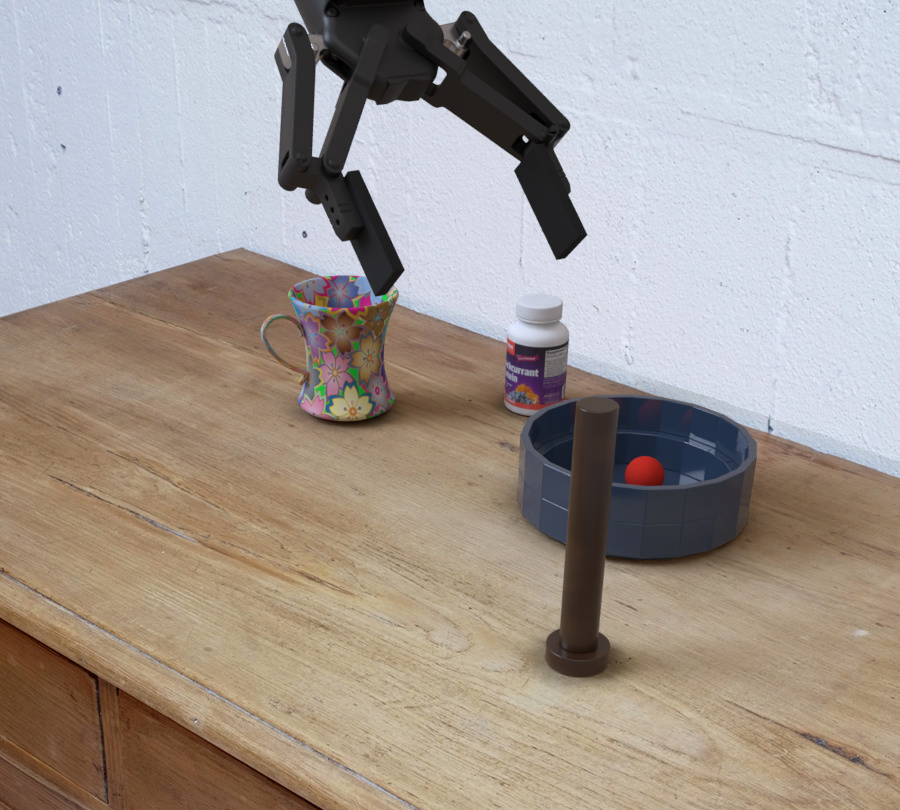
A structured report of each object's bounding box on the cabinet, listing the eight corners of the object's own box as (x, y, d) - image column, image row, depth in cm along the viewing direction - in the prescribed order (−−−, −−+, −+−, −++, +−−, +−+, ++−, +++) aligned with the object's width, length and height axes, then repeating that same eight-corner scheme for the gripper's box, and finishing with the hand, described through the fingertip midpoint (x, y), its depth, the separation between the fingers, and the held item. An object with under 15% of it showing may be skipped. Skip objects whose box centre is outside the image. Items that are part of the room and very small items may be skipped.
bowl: (709, 460, 108) (718, 391, 105) (776, 561, 93) (789, 485, 90) (502, 466, 106) (505, 396, 103) (538, 570, 92) (542, 492, 88)
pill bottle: (491, 405, 117) (495, 298, 112) (533, 390, 121) (538, 286, 116) (534, 423, 114) (540, 314, 109) (576, 407, 117) (584, 301, 112)
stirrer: (601, 640, 84) (624, 390, 75) (615, 675, 80) (641, 417, 72) (540, 643, 83) (555, 391, 75) (550, 678, 80) (569, 419, 71)
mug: (376, 384, 121) (375, 270, 116) (415, 420, 114) (415, 301, 109) (250, 402, 117) (243, 285, 112) (282, 441, 110) (276, 318, 104)
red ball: (668, 450, 100) (640, 458, 98) (676, 489, 100) (648, 497, 98) (641, 454, 102) (613, 462, 100) (648, 492, 103) (621, 500, 101)
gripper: (478, -5, 90) (607, 265, 88) (141, 17, 77) (281, 334, 75) (530, -87, 84) (672, 201, 81) (173, -79, 71) (327, 264, 68)
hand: (485, 265), depth 78 cm, fingers open, 13 cm apart
